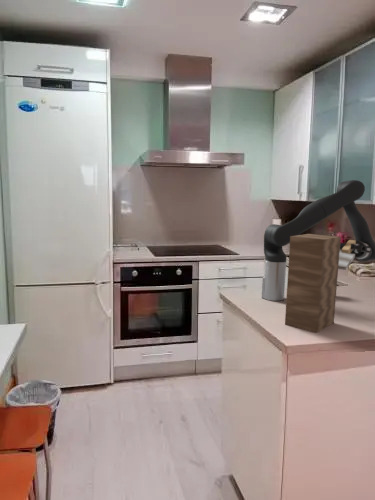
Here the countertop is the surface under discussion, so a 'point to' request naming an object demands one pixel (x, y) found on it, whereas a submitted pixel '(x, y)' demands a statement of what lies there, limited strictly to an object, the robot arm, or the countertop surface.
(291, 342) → the countertop surface
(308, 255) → the plinth
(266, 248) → the robot arm
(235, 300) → the countertop surface
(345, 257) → the rectangular straight-edged part
